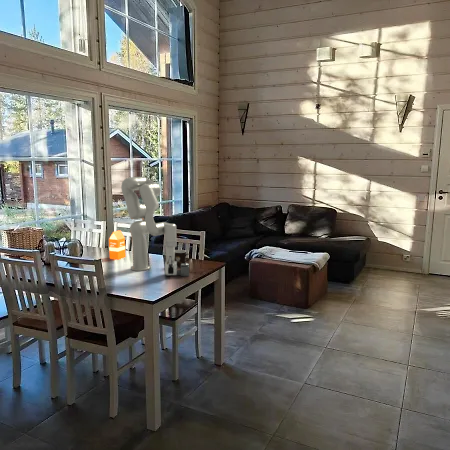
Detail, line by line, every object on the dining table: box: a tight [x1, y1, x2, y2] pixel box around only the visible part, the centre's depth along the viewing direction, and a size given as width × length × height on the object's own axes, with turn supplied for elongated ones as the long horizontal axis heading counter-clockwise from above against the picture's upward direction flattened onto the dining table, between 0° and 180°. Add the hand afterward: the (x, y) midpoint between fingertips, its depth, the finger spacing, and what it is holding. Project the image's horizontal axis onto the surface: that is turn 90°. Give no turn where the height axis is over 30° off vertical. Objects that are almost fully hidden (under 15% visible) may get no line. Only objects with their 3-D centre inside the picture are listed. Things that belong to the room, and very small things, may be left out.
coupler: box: [165, 262, 190, 277], centre depth 254 cm, size 7×14×7 cm, turn 95°
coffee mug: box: [174, 249, 192, 268], centre depth 274 cm, size 12×9×10 cm
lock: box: [164, 260, 178, 276], centre depth 253 cm, size 6×7×8 cm
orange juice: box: [108, 229, 126, 261], centre depth 296 cm, size 8×9×20 cm
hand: (171, 271), depth 254 cm, fingers closed on lock, 6 cm apart
